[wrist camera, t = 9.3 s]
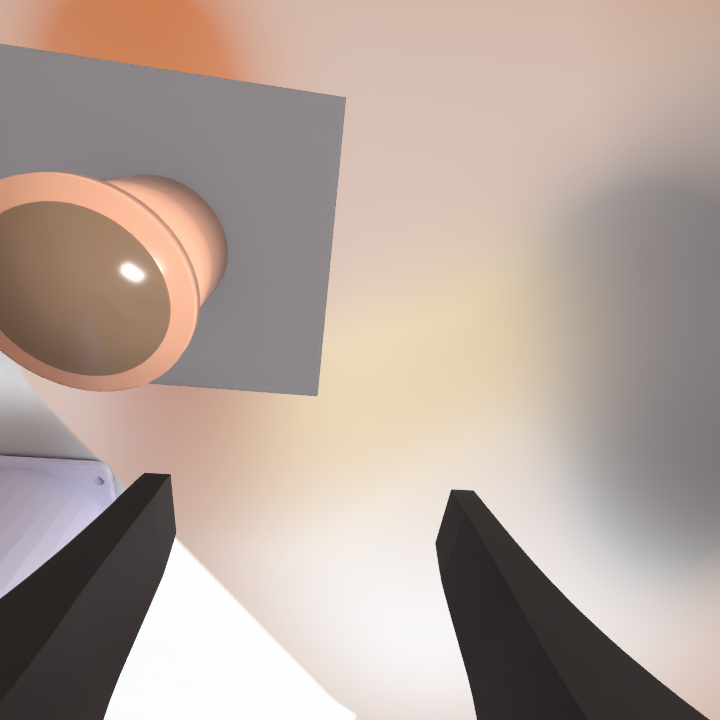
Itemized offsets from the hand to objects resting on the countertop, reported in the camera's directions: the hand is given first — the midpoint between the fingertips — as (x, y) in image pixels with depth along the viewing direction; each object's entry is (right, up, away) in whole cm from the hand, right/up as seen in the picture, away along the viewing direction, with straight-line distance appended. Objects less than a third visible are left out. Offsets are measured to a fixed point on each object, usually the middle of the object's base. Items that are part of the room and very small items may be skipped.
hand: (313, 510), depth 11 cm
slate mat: (-6, +8, +6) cm, 12 cm away
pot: (-6, +8, +5) cm, 12 cm away
